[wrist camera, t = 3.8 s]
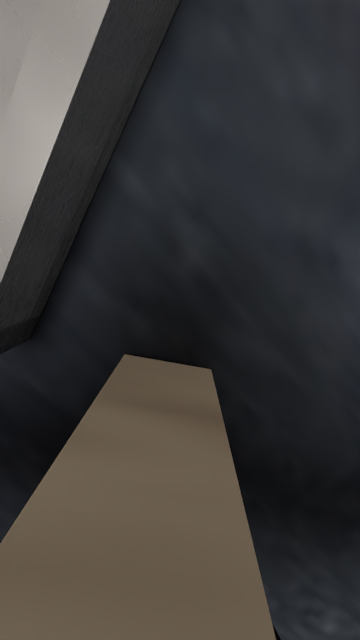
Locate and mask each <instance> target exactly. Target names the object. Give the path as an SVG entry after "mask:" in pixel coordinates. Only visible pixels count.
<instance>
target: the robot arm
mask: <svg viewBox="0 0 360 640" xmlns="http://www.w3.org/2000/svg"><path fill="white" fill-rule="evenodd" d="M272 625H273V623H272ZM273 629H274V633H275V638H276V640H281V639H280V637H279V635H278V633H277V631H276V629H275V627H274V625H273Z"/></svg>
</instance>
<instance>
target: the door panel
mask: <svg viewBox="0 0 360 640" xmlns="http://www.w3.org/2000/svg"><path fill="white" fill-rule="evenodd" d="M0 640H276V638H275V633H274V629H273V625H272V621H271V617H270V613H269V608H268V604H267V600H266V596H265V592H264V588H263V583H262V579H261V575H260V571H259V567H258V563H257V558H256V554H255V550H254V546H253V542H252V538H251V533H250V529H249V525H248V521H247V517H246V513H245V508H244V504H243V500H242V496H241V492H240V488H239V483H238V479H237V475H236V471H235V467H234V463H233V459H232V454H231V450H230V446H229V442H228V438H227V434H226V429H225V425H224V421H223V417H222V413H221V409H220V404H219V400H218V396H217V392H216V388H215V384H214V379H213V375H212V371H211V369H206V368H200V367H195V366H189V365H183V364H178V363H172V362H166V361H160V360H155V359H149V358H143V357H138V356H132V355H126V354H124V356H123V357H122V359H121V360H120V362H119V363H118V365H117V366H116V368H115V370H114V371H113V373H112V374H111V376H110V377H109V379H108V380H107V382H106V383H105V385H104V386H103V388H102V389H101V391H100V392H99V394H98V395H97V397H96V398H95V400H94V402H93V403H92V405H91V406H90V408H89V409H88V411H87V412H86V414H85V415H84V417H83V418H82V420H81V421H80V423H79V424H78V426H77V427H76V429H75V430H74V432H73V434H72V435H71V437H70V438H69V440H68V441H67V443H66V444H65V446H64V447H63V449H62V450H61V452H60V453H59V455H58V456H57V458H56V459H55V461H54V462H53V464H52V465H51V467H50V469H49V470H48V472H47V473H46V475H45V476H44V478H43V479H42V481H41V482H40V484H39V485H38V487H37V488H36V490H35V491H34V493H33V494H32V496H31V497H30V499H29V501H28V502H27V504H26V505H25V507H24V508H23V510H22V511H21V513H20V514H19V516H18V517H17V519H16V520H15V522H14V523H13V525H12V526H11V528H10V529H9V531H8V533H7V534H6V536H5V537H4V539H3V540H2V542H1V543H0Z"/></svg>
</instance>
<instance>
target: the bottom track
mask: <svg viewBox="0 0 360 640" xmlns="http://www.w3.org/2000/svg"><path fill="white" fill-rule="evenodd" d="M179 2H180V0H0V354H2V353H4V352H6V351H8V350H10V349H12V348H14V347H16V346H18V345H20V344H22V343H24V342H26V341H28V340H30V337H31V335H32V333H33V331H34V328H35V326H36V324H37V322H38V319H39V317H40V315H41V313H42V310H43V308H44V306H45V304H46V301H47V299H48V297H49V295H50V292H51V290H52V288H53V286H54V283H55V281H56V279H57V277H58V274H59V272H60V270H61V268H62V265H63V263H64V261H65V259H66V256H67V254H68V252H69V250H70V247H71V245H72V243H73V241H74V238H75V236H76V234H77V232H78V229H79V227H80V225H81V223H82V220H83V218H84V216H85V214H86V211H87V209H88V207H89V205H90V202H91V200H92V198H93V196H94V193H95V191H96V189H97V187H98V184H99V182H100V180H101V178H102V175H103V173H104V171H105V169H106V166H107V164H108V162H109V160H110V157H111V155H112V153H113V151H114V148H115V146H116V144H117V142H118V139H119V137H120V135H121V133H122V130H123V128H124V126H125V124H126V121H127V119H128V117H129V115H130V112H131V110H132V108H133V106H134V103H135V101H136V99H137V97H138V94H139V92H140V90H141V88H142V85H143V83H144V81H145V79H146V76H147V74H148V72H149V70H150V67H151V65H152V63H153V61H154V58H155V56H156V54H157V52H158V49H159V47H160V45H161V43H162V40H163V38H164V36H165V34H166V31H167V29H168V27H169V25H170V22H171V20H172V18H173V16H174V13H175V11H176V9H177V7H178V4H179Z"/></svg>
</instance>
